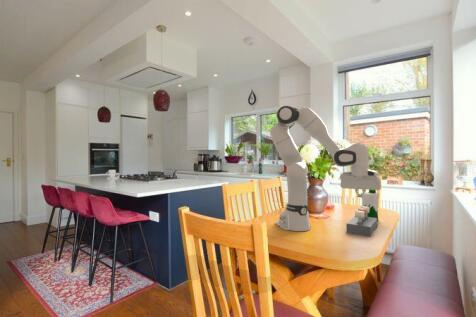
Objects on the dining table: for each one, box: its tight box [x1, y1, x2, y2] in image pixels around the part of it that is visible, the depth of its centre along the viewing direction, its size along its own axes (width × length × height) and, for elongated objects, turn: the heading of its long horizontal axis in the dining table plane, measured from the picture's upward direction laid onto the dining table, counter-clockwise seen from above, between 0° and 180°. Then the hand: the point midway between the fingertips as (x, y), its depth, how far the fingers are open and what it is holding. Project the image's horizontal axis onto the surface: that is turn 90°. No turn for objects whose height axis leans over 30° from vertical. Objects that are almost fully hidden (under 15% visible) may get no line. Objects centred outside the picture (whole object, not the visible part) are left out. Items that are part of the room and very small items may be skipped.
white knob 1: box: [354, 210, 364, 224], centre depth 139 cm, size 5×5×7 cm
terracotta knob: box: [357, 207, 367, 221], centre depth 146 cm, size 5×5×7 cm
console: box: [345, 216, 378, 237], centre depth 146 cm, size 24×12×5 cm, turn 144°
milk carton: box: [360, 190, 380, 222], centre depth 167 cm, size 9×9×20 cm
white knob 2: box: [360, 206, 369, 219], centre depth 152 cm, size 5×5×7 cm
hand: (360, 197), depth 139 cm, fingers closed
